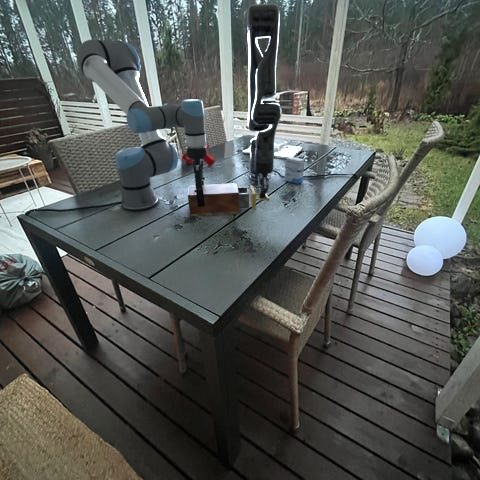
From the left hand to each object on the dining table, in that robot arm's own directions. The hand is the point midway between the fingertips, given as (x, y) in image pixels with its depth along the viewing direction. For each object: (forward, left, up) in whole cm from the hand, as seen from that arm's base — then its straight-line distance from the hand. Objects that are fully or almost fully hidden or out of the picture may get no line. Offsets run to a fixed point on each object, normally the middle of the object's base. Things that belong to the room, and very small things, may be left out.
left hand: (201, 200), depth 113 cm
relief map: (+23, +99, -4) cm, 101 cm away
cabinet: (+5, +1, -4) cm, 7 cm away
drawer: (+15, +4, -3) cm, 16 cm away
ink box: (+38, +41, -4) cm, 56 cm away
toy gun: (-21, +61, -4) cm, 64 cm away
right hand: (+25, +7, -1) cm, 26 cm away
